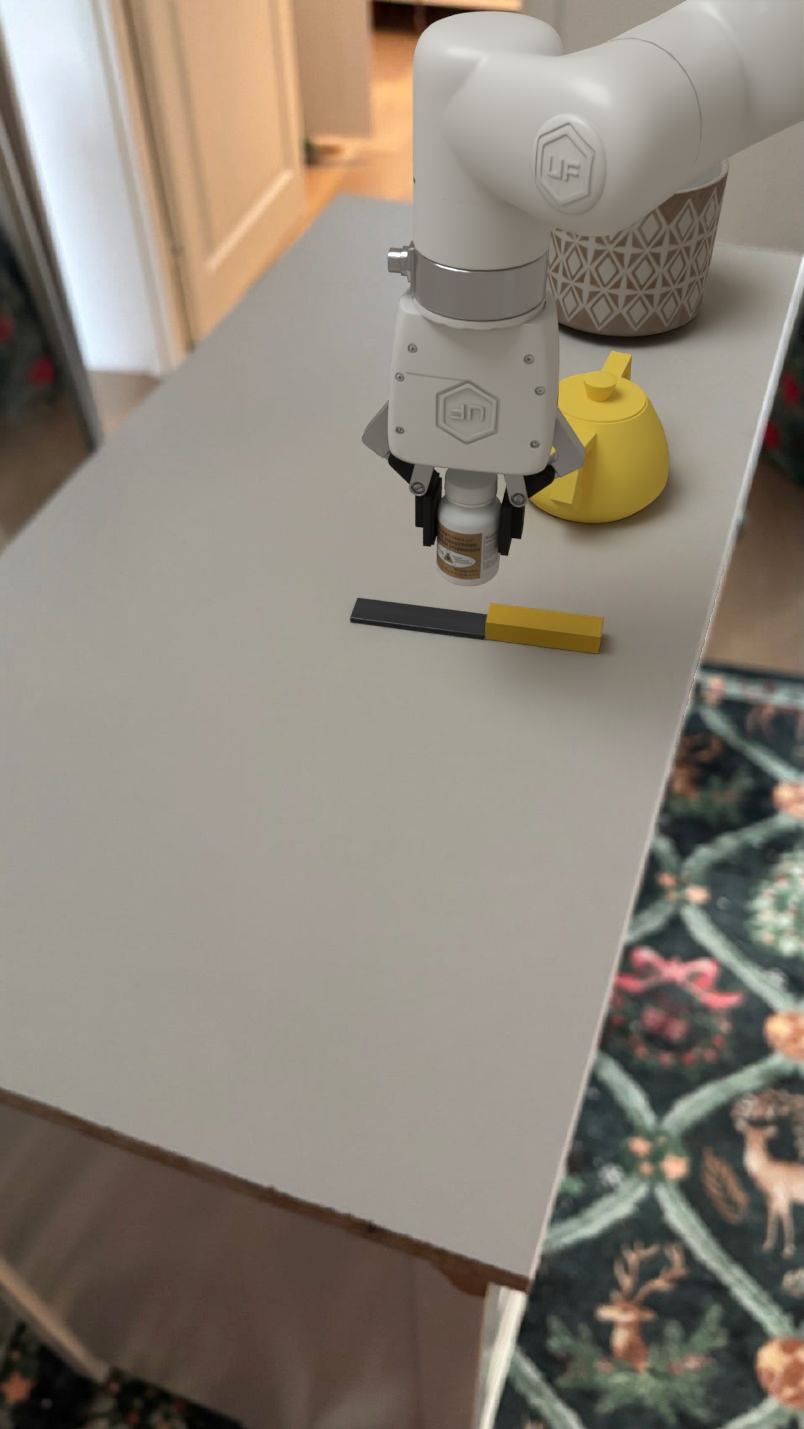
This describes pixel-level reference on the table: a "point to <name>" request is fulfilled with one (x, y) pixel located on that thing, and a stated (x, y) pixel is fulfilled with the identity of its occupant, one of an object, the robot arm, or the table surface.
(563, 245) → the planter
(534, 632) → the knife
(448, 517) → the pill bottle
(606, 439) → the teapot
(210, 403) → the table surface
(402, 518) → the table surface
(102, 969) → the table surface
